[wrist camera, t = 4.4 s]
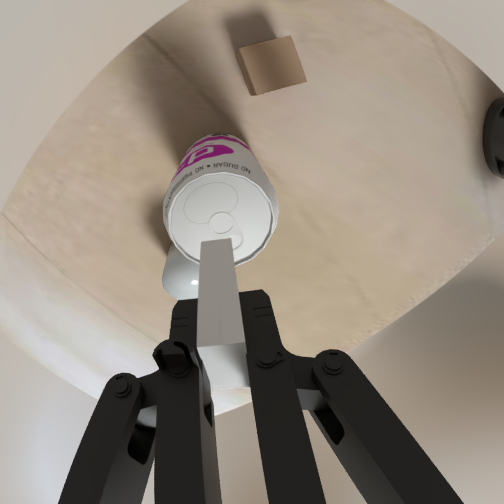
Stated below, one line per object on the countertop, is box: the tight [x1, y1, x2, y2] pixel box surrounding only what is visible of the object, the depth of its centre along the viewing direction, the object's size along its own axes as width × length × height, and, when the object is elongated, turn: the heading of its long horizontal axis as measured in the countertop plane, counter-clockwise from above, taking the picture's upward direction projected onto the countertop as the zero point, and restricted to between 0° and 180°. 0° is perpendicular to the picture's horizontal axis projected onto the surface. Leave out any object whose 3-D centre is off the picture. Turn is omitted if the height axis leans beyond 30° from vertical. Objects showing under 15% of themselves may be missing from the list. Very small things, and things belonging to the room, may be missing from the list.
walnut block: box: [236, 36, 307, 96], centre depth 23 cm, size 5×5×5 cm
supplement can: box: [163, 133, 279, 267], centre depth 25 cm, size 8×8×15 cm
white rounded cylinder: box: [162, 242, 200, 300], centre depth 34 cm, size 6×6×6 cm
